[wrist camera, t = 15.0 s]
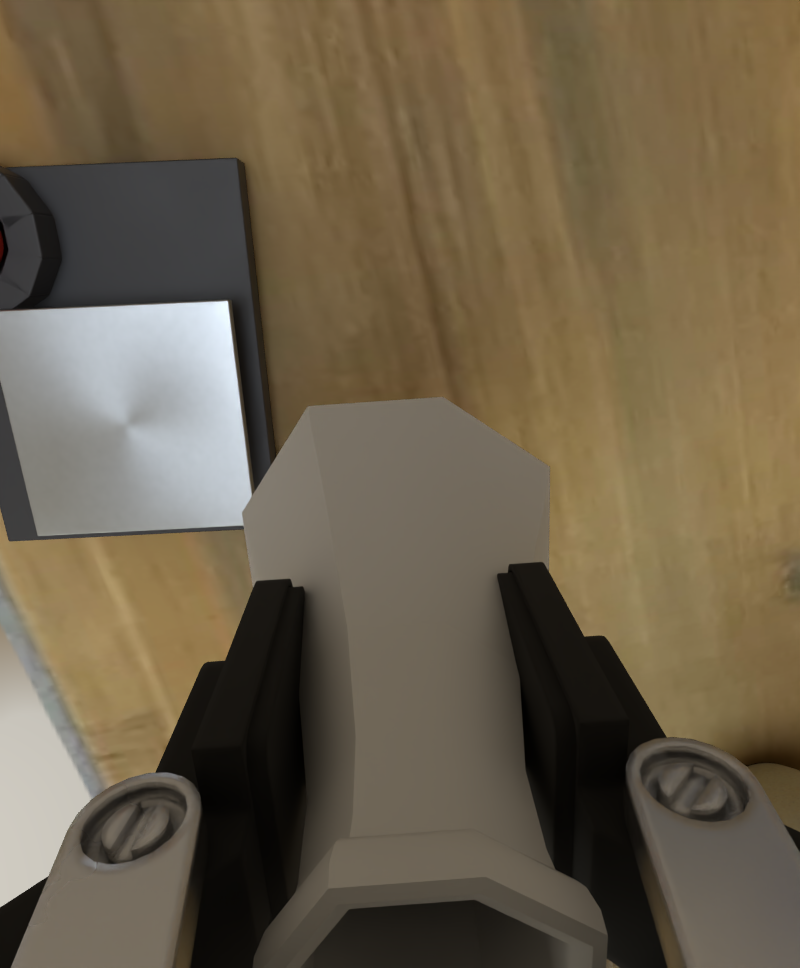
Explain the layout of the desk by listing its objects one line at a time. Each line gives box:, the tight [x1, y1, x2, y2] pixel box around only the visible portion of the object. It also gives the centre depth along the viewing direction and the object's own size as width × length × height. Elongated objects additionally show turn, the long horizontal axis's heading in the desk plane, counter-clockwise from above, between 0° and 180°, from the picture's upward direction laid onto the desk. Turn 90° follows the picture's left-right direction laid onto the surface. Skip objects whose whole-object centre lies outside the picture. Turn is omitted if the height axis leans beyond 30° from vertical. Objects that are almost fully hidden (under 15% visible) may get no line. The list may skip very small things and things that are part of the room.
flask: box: [242, 397, 608, 968], centre depth 10 cm, size 7×7×10 cm
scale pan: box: [0, 299, 255, 536], centre depth 26 cm, size 9×9×1 cm
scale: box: [0, 158, 276, 541], centre depth 26 cm, size 15×13×3 cm
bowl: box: [747, 763, 800, 832], centre depth 33 cm, size 10×10×7 cm
